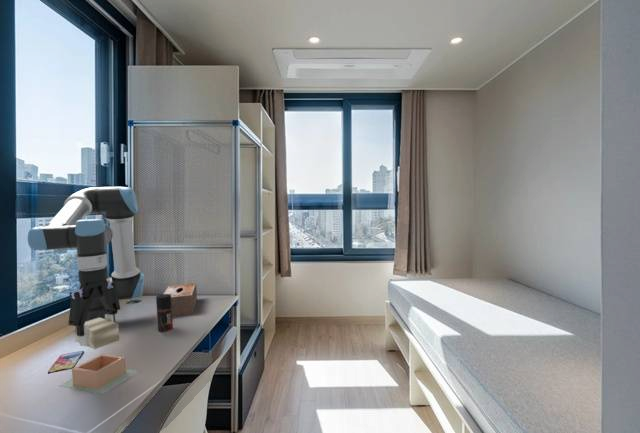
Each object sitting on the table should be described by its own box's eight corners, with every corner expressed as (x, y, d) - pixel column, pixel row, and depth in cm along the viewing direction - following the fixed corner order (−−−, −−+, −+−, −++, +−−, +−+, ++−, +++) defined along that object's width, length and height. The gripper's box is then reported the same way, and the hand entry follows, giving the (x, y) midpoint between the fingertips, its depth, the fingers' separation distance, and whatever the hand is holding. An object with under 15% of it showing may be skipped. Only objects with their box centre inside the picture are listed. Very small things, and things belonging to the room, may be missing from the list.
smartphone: (84, 350, 124) (73, 367, 110) (84, 352, 124) (74, 370, 110) (60, 354, 121) (46, 373, 107) (61, 357, 121) (46, 375, 107)
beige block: (76, 341, 103) (75, 324, 103) (100, 333, 109) (99, 317, 109) (94, 349, 97) (93, 331, 96) (119, 340, 103) (118, 323, 102)
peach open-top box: (72, 384, 100) (71, 369, 100) (102, 368, 110) (101, 354, 109) (97, 389, 97) (96, 372, 97) (126, 372, 107) (125, 357, 106)
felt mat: (58, 387, 100) (58, 385, 100) (98, 366, 112) (98, 364, 112) (103, 395, 95) (103, 393, 95) (139, 372, 107) (139, 371, 107)
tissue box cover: (169, 303, 183) (168, 285, 182) (197, 300, 187) (196, 283, 186) (161, 318, 158) (160, 298, 158) (192, 314, 162) (191, 295, 162)
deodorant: (167, 332, 140) (165, 298, 139) (154, 331, 141) (152, 297, 141) (175, 327, 146) (173, 294, 145) (164, 326, 147) (162, 293, 146)
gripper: (67, 276, 91) (73, 356, 92) (130, 262, 111) (134, 327, 112) (48, 275, 93) (54, 353, 94) (113, 262, 113) (117, 326, 114)
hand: (97, 339), depth 103 cm, fingers closed on beige block, 8 cm apart
